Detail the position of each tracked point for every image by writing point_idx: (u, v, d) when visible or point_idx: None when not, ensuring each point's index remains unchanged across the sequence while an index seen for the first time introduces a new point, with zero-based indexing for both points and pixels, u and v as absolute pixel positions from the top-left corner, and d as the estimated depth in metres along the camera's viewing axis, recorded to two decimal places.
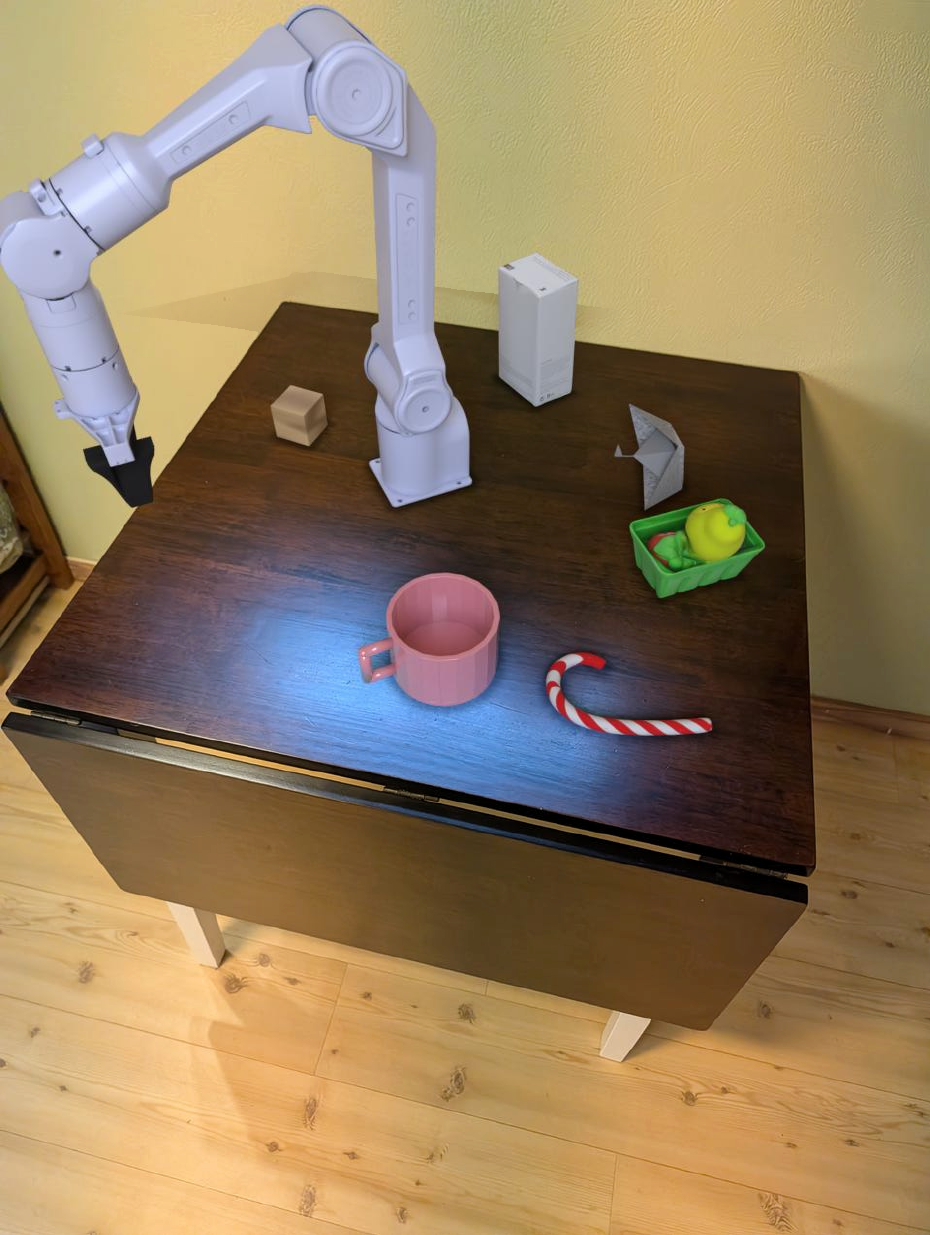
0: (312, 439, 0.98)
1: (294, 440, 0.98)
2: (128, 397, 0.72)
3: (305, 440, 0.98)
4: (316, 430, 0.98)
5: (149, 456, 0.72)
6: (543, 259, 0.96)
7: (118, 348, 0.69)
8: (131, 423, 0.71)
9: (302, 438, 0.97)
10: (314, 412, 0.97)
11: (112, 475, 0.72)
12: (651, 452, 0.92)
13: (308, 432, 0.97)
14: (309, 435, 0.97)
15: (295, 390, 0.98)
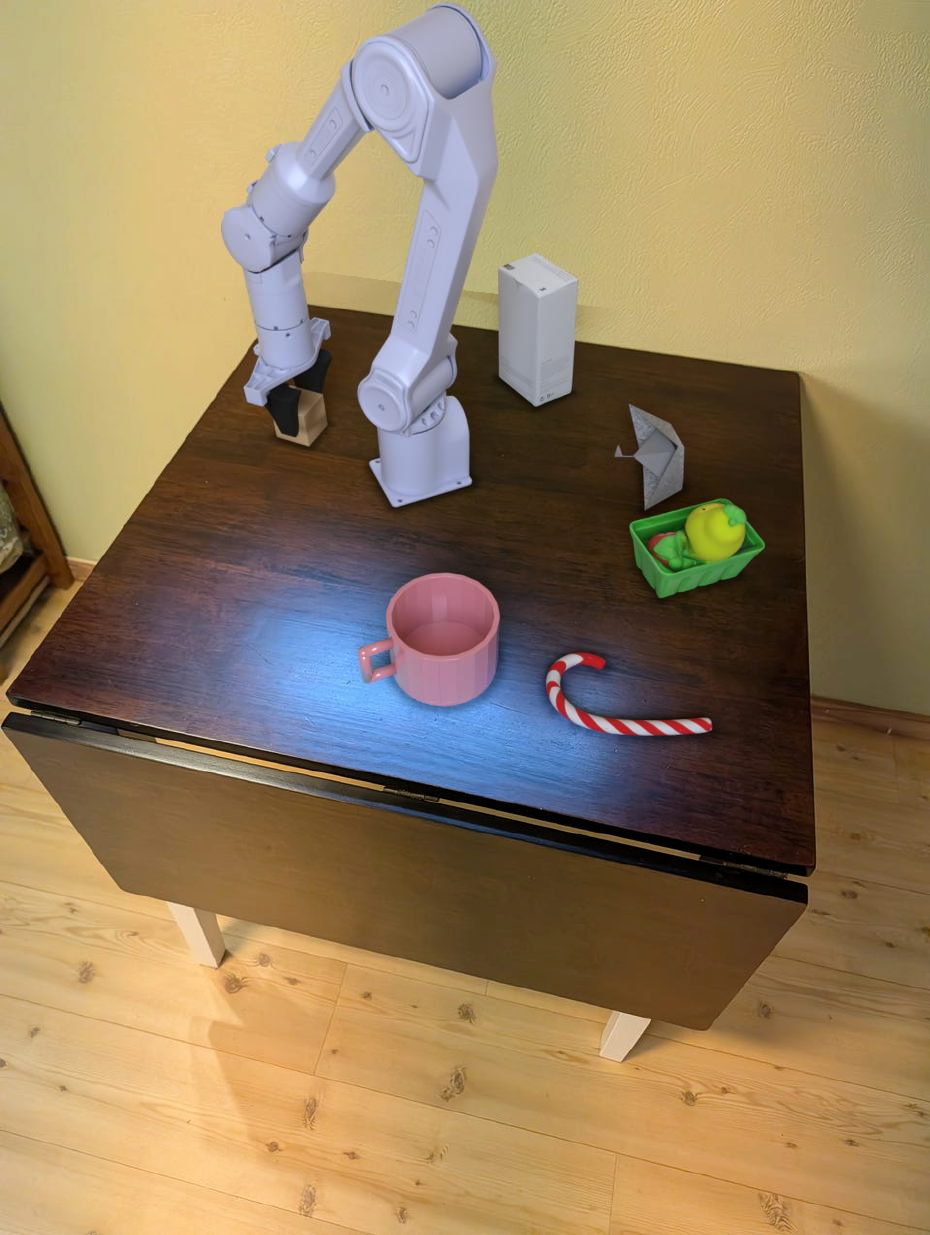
0: (312, 439, 0.98)
1: (294, 440, 0.98)
2: (295, 362, 0.90)
3: (305, 440, 0.97)
4: (316, 430, 0.98)
5: (286, 403, 0.91)
6: (543, 259, 0.96)
7: (299, 325, 0.87)
8: (280, 381, 0.89)
9: (302, 438, 0.97)
10: (314, 413, 0.97)
11: None
12: (651, 452, 0.92)
13: (308, 432, 0.97)
14: (309, 435, 0.97)
15: None
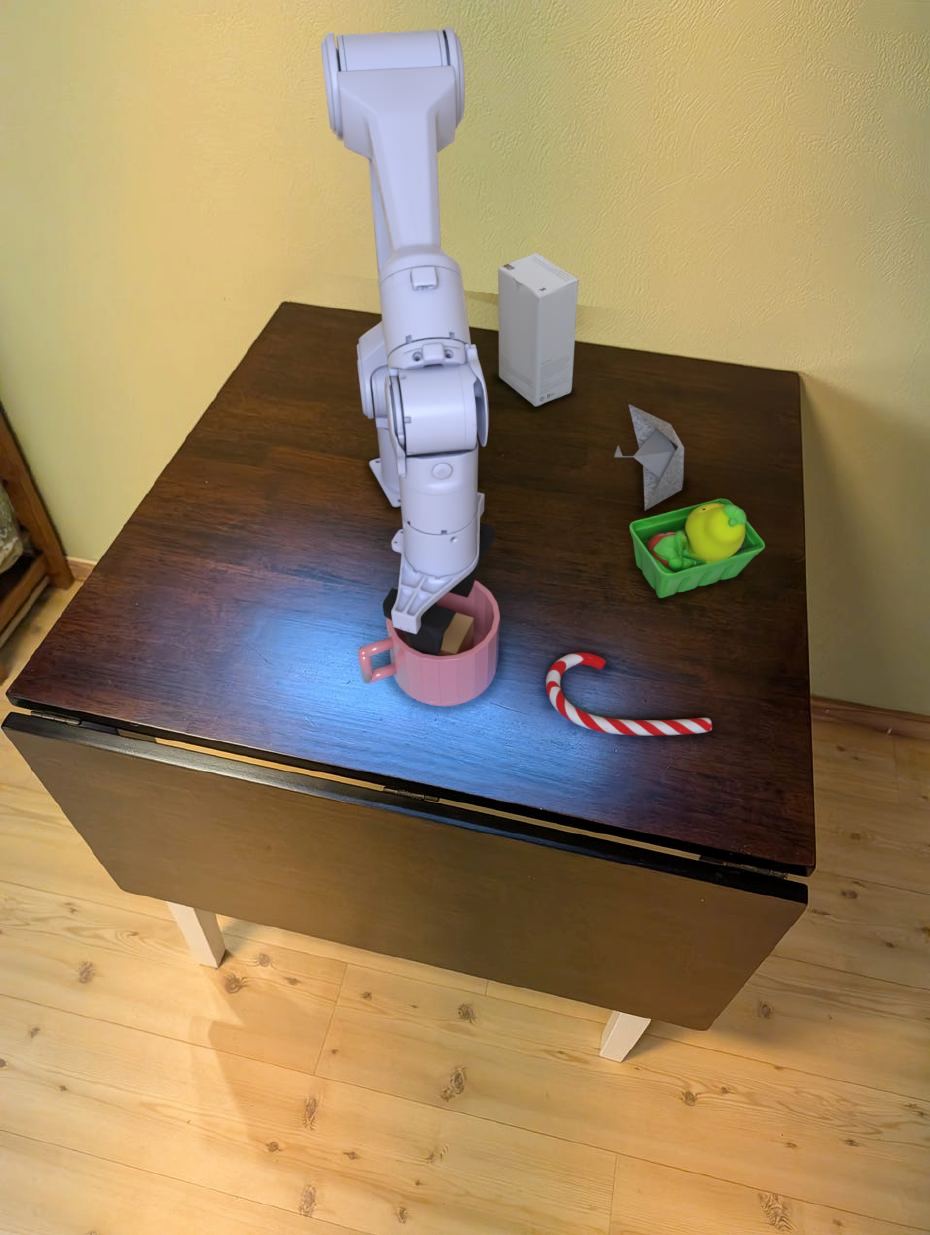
0: None
1: None
2: (456, 568, 0.65)
3: None
4: None
5: (438, 632, 0.65)
6: (543, 259, 0.96)
7: (468, 524, 0.62)
8: (439, 596, 0.64)
9: None
10: (464, 643, 0.75)
11: None
12: (651, 452, 0.92)
13: None
14: None
15: None
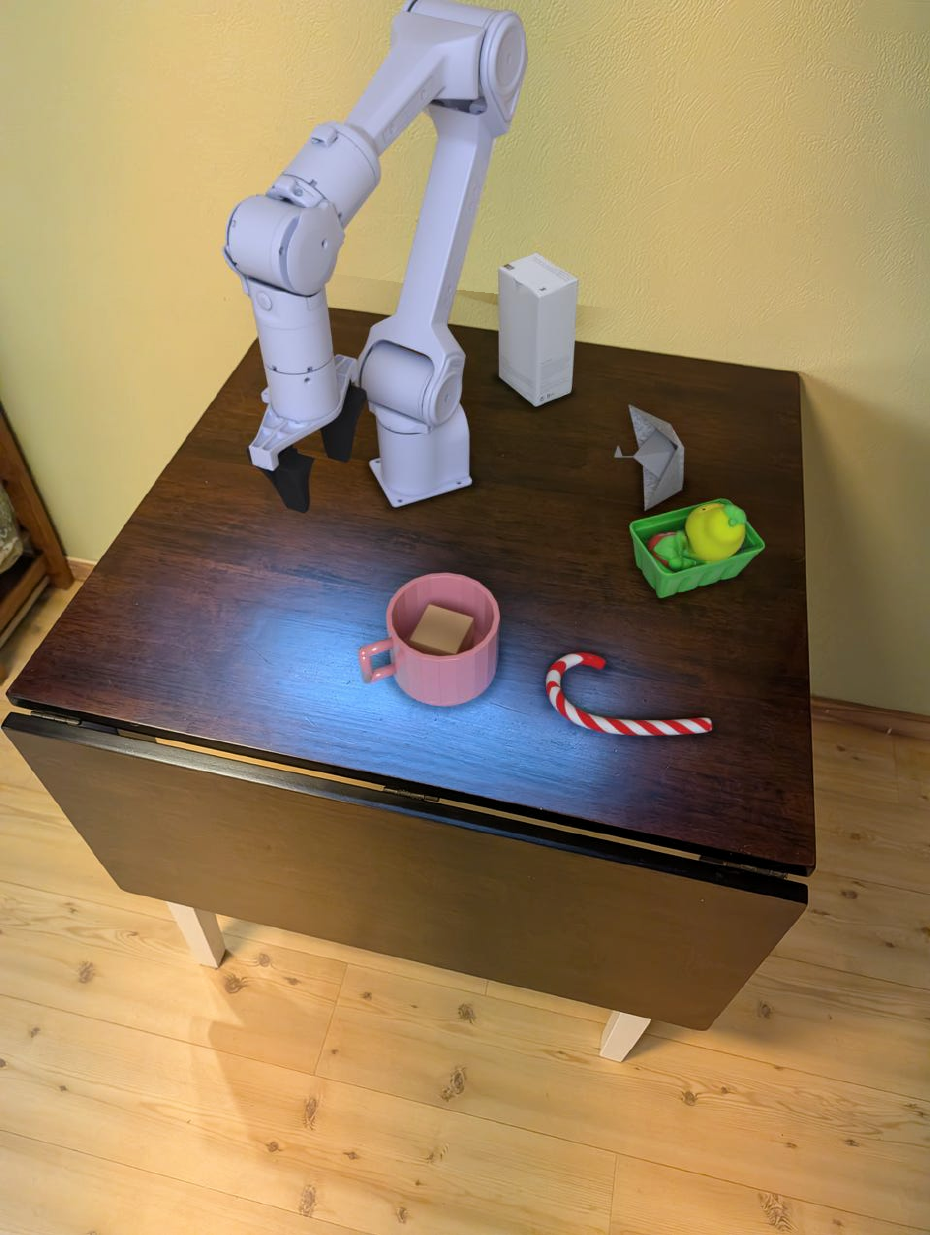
0: None
1: None
2: (315, 414, 0.70)
3: None
4: None
5: (295, 474, 0.70)
6: (543, 259, 0.96)
7: (322, 367, 0.67)
8: (296, 437, 0.69)
9: None
10: (464, 643, 0.75)
11: (266, 472, 0.72)
12: (651, 452, 0.92)
13: None
14: None
15: (437, 612, 0.76)
